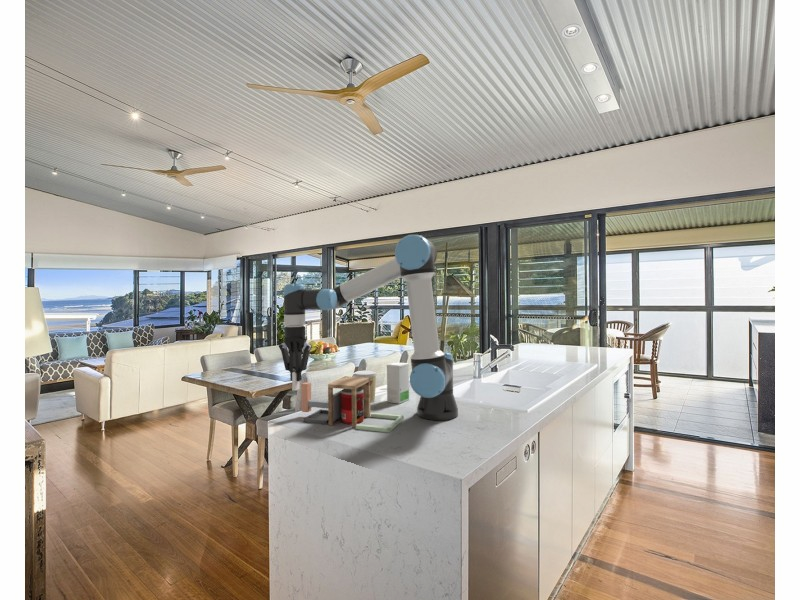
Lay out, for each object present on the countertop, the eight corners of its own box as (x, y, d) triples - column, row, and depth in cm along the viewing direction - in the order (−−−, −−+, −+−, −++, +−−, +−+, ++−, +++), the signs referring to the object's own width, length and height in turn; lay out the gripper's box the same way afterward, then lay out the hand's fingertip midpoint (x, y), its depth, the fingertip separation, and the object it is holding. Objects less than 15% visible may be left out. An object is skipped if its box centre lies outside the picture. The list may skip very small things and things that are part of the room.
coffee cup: (351, 403, 171) (350, 374, 171) (358, 397, 180) (358, 369, 180) (373, 404, 169) (372, 375, 168) (379, 398, 178) (378, 370, 178)
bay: (403, 418, 150) (403, 415, 150) (389, 432, 136) (389, 428, 136) (372, 415, 154) (372, 412, 153) (355, 428, 139) (355, 425, 139)
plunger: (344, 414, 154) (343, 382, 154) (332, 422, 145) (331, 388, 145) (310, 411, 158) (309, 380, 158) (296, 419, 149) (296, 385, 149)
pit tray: (341, 414, 156) (341, 411, 156) (326, 424, 144) (326, 420, 144) (320, 412, 158) (320, 409, 158) (303, 422, 147) (303, 418, 147)
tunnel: (370, 416, 153) (369, 377, 153) (355, 428, 140) (354, 385, 140) (345, 414, 156) (345, 376, 156) (328, 425, 143) (328, 384, 143)
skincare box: (399, 404, 169) (399, 365, 168) (385, 402, 172) (385, 364, 172) (410, 399, 176) (409, 362, 176) (396, 397, 179) (396, 361, 179)
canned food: (360, 425, 143) (360, 393, 143) (338, 423, 145) (337, 392, 145) (366, 418, 151) (366, 388, 150) (345, 417, 152) (345, 387, 152)
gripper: (315, 325, 156) (316, 388, 156) (285, 324, 160) (286, 386, 160) (305, 327, 148) (306, 393, 149) (273, 326, 152) (275, 390, 153)
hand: (296, 389), depth 155 cm, fingers closed
